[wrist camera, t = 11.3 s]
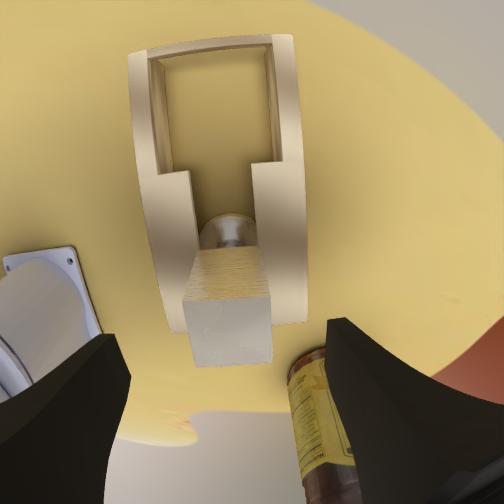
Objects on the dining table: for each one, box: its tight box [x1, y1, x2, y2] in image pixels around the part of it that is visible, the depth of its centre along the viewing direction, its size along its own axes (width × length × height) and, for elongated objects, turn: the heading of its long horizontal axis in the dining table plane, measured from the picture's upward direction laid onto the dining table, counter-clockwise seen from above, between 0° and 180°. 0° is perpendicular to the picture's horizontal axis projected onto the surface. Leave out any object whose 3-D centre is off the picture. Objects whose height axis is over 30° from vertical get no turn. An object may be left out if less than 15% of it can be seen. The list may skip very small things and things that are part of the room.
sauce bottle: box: [287, 348, 363, 504], centre depth 14 cm, size 6×6×20 cm
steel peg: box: [182, 213, 273, 367], centre depth 15 cm, size 4×4×9 cm
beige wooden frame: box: [128, 34, 308, 334], centre depth 16 cm, size 16×8×4 cm, turn 5°
